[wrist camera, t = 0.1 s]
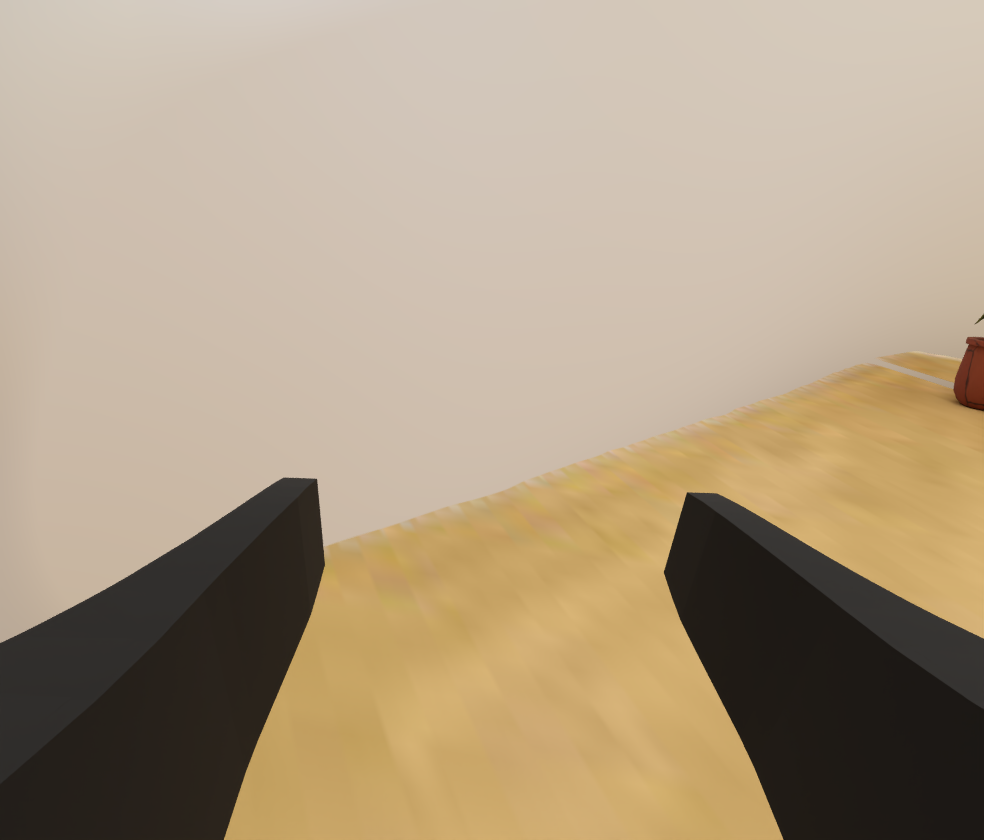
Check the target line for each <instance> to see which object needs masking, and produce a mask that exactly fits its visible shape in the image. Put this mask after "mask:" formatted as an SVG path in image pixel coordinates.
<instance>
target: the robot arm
mask: <svg viewBox="0 0 984 840" xmlns="http://www.w3.org/2000/svg"><path fill="white" fill-rule="evenodd" d="M324 566H325V561H324V550H323V539H322V528H321V518H320V506H319V495H318V484H317V479H306V478H282V479H281V480H279V481H277V482H275V483H274V484H272V485H271V486H269V487H267V488H266V489H264V490H263V491H262V492H260V493H258V494H257V495H255V496H254V497H252V498H251V499H249V500H248V501H246V502H245V503H243V504H242V505H241V506H239V507H237V508H236V509H235V510H233V511H232V512H230V513H228V514H227V515H225V516H224V517H222V518H221V519H219V520H218V521H216V522H215V523H213V524H212V525H210V526H209V527H207V528H206V529H204V530H203V531H201V532H200V533H198V534H197V535H195V536H194V537H192V538H191V539H189V540H187V541H186V542H184V543H182V544H181V545H179V546H178V547H176V548H174V549H172V550H171V551H169V552H168V553H166V554H164V555H163V556H161V557H159V558H158V559H156V560H154V561H153V562H151V563H149V564H148V565H146V566H144V567H143V568H141V569H140V570H138V571H136V572H135V573H133V574H131V575H130V576H128V577H126V578H125V579H123V580H121V581H119V582H118V583H116V584H114V585H112V586H110V587H109V588H107V589H105V590H103V591H101V592H100V593H98V594H96V595H94V596H92V597H91V598H89V599H87V600H85V601H83V602H81V603H79V604H77V605H76V606H74V607H72V608H70V609H68V610H66V611H64V612H62V613H60V614H58V615H56V616H54V617H52V618H51V619H49V620H47V621H45V622H43V623H41V624H39V625H37V626H35V627H33V628H31V629H29V630H27V631H25V632H23V633H21V634H19V635H17V636H15V637H13V638H10V639H8V640H6V641H4V642H2V643H0V840H224V837H225V834H226V831H227V828H228V825H229V822H230V819H231V816H232V813H233V810H234V806H235V803H236V800H237V797H238V794H239V791H240V788H241V785H242V782H243V779H244V776H245V773H246V770H247V767H248V765H249V762H250V760H251V757H252V754H253V752H254V749H255V746H256V744H257V741H258V739H259V736H260V734H261V732H262V729H263V727H264V725H265V722H266V720H267V718H268V715H269V713H270V711H271V708H272V706H273V703H274V701H275V699H276V696H277V694H278V692H279V689H280V687H281V685H282V682H283V680H284V678H285V675H286V673H287V671H288V668H289V666H290V663H291V661H292V659H293V656H294V654H295V652H296V649H297V647H298V644H299V642H300V640H301V637H302V635H303V632H304V630H305V628H306V625H307V623H308V620H309V618H310V615H311V612H312V609H313V605H314V602H315V599H316V595H317V592H318V588H319V585H320V581H321V577H322V573H323V570H324ZM664 574H665V577H666V580H667V583H668V586H669V589H670V593H671V596H672V599H673V601H674V604H675V607H676V609H677V612H678V615H679V617H680V620H681V622H682V624H683V626H684V628H685V630H686V632H687V634H688V636H689V638H690V640H691V642H692V644H693V646H694V648H695V650H696V652H697V654H698V656H699V658H700V660H701V662H702V664H703V666H704V668H705V670H706V672H707V674H708V676H709V678H710V680H711V682H712V684H713V686H714V687H715V689H716V691H717V693H718V695H719V697H720V699H721V701H722V703H723V705H724V707H725V709H726V711H727V713H728V715H729V717H730V719H731V721H732V723H733V724H734V726H735V728H736V730H737V732H738V734H739V736H740V738H741V740H742V742H743V745H744V747H745V749H746V751H747V753H748V755H749V757H750V759H751V762H752V764H753V766H754V768H755V770H756V773H757V775H758V778H759V780H760V783H761V785H762V788H763V790H764V793H765V795H766V797H767V800H768V802H769V805H770V807H771V810H772V812H773V815H774V817H775V820H776V822H777V824H778V827H779V829H780V832H781V834H782V837H783V839H784V840H984V639H983V638H981V637H979V636H977V635H975V634H973V633H971V632H969V631H967V630H964V629H962V628H960V627H958V626H956V625H954V624H952V623H950V622H948V621H946V620H944V619H942V618H940V617H938V616H935V615H934V614H932V613H930V612H928V611H926V610H924V609H922V608H920V607H918V606H916V605H914V604H912V603H910V602H908V601H906V600H904V599H903V598H901V597H899V596H897V595H895V594H893V593H892V592H890V591H888V590H886V589H884V588H882V587H881V586H879V585H877V584H875V583H873V582H871V581H870V580H868V579H866V578H864V577H862V576H860V575H859V574H857V573H855V572H853V571H852V570H850V569H848V568H846V567H845V566H843V565H841V564H839V563H838V562H836V561H834V560H832V559H831V558H829V557H827V556H825V555H824V554H822V553H820V552H819V551H817V550H815V549H814V548H812V547H810V546H808V545H807V544H805V543H803V542H802V541H800V540H798V539H797V538H795V537H793V536H792V535H790V534H788V533H787V532H785V531H783V530H782V529H780V528H778V527H777V526H775V525H773V524H772V523H770V522H768V521H766V520H765V519H763V518H761V517H760V516H758V515H756V514H755V513H753V512H751V511H749V510H748V509H746V508H744V507H742V506H740V505H739V504H737V503H735V502H733V501H731V500H729V499H727V498H725V497H723V496H721V495H719V494H716V493H689V492H687V494H686V498H685V501H684V505H683V508H682V512H681V515H680V518H679V522H678V525H677V529H676V532H675V536H674V539H673V543H672V546H671V550H670V553H669V557H668V560H667V563H666V567H665V570H664Z"/></svg>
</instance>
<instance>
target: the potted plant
mask: <svg viewBox="0 0 984 840" xmlns="http://www.w3.org/2000/svg"><path fill="white" fill-rule="evenodd" d="M982 319H984V315H982V317H981V318H980V319H979V320H978V321H977V322H976V323H978V322H979V321H981V320H982ZM976 323H975V324H976ZM966 343H967V344H969V345H968V348H967V350H966V352H965V355H964V357H963V359H962V362H961V364H960V367H959V370H958V372H957V375H956V377H955V383H954V393H955V396H956V398H957V399H958V401H959V402H960V403H961V404H963V405H965V406H967V407H971V408H975V409H979V410H984V338H983V337H968V338H967V340H966Z"/></svg>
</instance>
